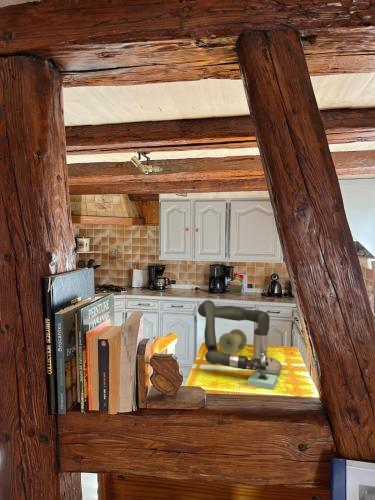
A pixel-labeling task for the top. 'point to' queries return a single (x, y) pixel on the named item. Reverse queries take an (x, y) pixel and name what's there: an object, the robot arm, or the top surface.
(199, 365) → the top surface
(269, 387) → the block
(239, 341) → the spool
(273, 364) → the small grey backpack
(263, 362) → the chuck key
